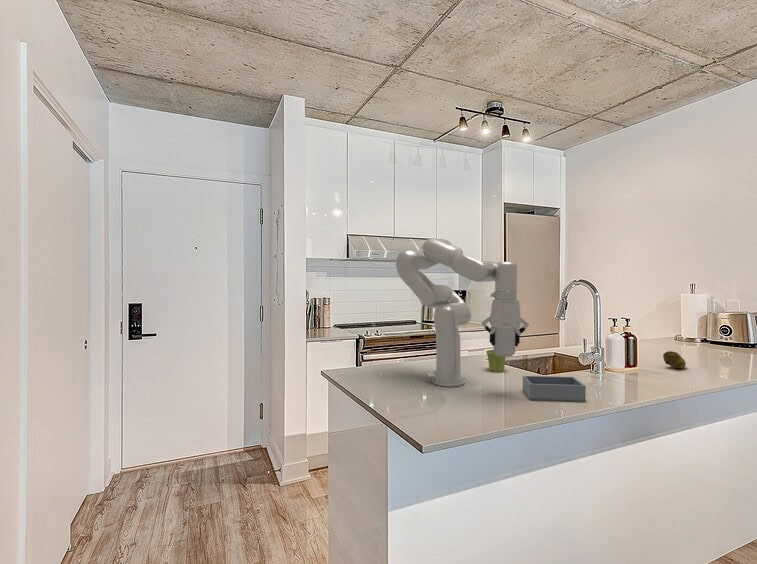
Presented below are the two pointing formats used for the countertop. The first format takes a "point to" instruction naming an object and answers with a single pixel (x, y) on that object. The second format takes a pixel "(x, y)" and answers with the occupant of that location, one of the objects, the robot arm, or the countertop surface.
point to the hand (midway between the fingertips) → (504, 344)
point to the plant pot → (495, 361)
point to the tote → (554, 388)
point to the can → (504, 341)
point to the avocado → (674, 360)
